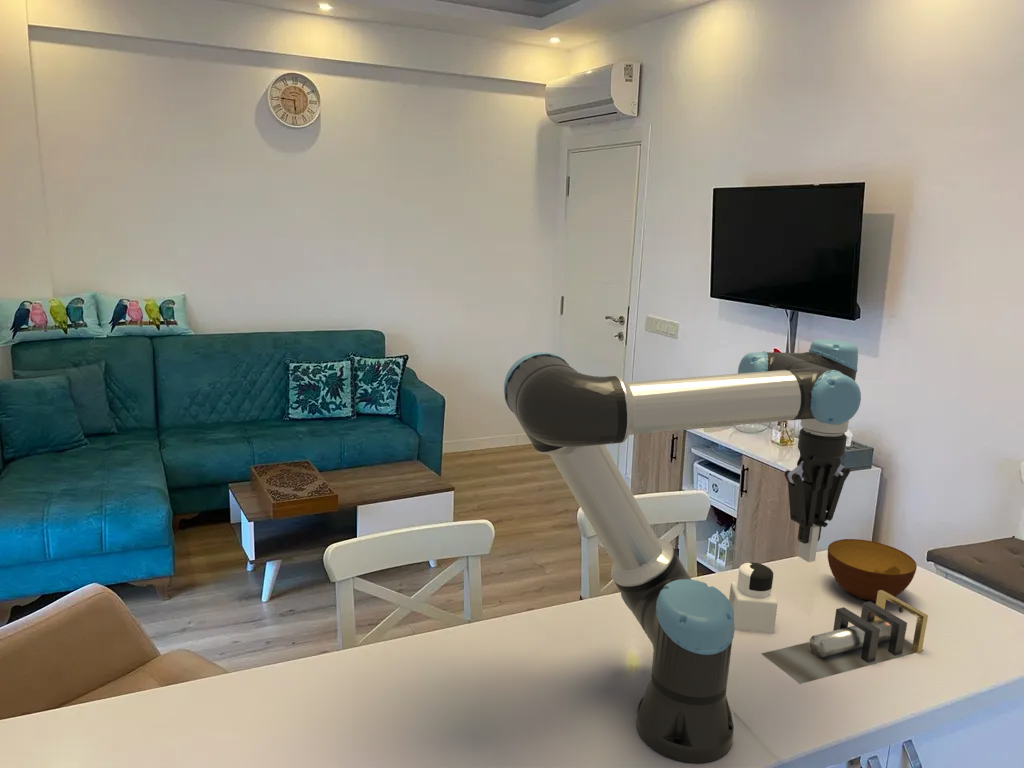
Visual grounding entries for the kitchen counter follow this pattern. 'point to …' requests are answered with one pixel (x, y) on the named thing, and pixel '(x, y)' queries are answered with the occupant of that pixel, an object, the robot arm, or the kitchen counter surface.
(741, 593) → the container
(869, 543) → the bowl
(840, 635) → the tube
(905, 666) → the kitchen counter surface
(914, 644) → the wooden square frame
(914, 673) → the kitchen counter surface
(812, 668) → the board
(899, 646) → the collar
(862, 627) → the collar
